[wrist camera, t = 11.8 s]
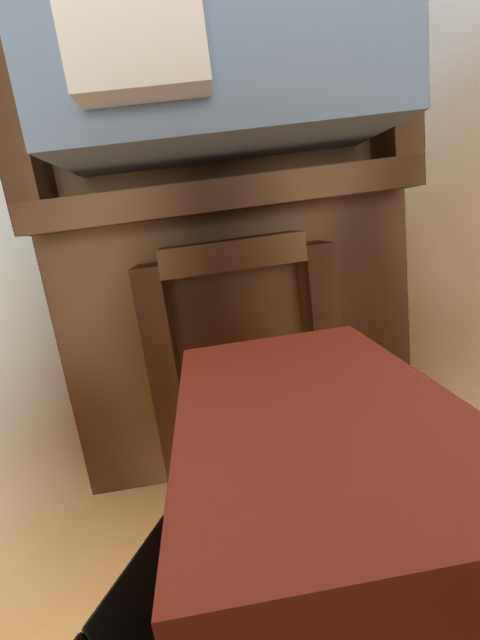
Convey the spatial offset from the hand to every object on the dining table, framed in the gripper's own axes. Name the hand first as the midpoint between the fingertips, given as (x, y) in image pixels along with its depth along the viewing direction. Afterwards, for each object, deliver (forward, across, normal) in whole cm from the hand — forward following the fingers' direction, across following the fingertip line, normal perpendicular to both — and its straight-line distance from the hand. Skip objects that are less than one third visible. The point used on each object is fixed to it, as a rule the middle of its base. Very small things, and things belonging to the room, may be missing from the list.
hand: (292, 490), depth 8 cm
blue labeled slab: (+9, 0, -10) cm, 13 cm away
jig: (+10, 0, -5) cm, 11 cm away
